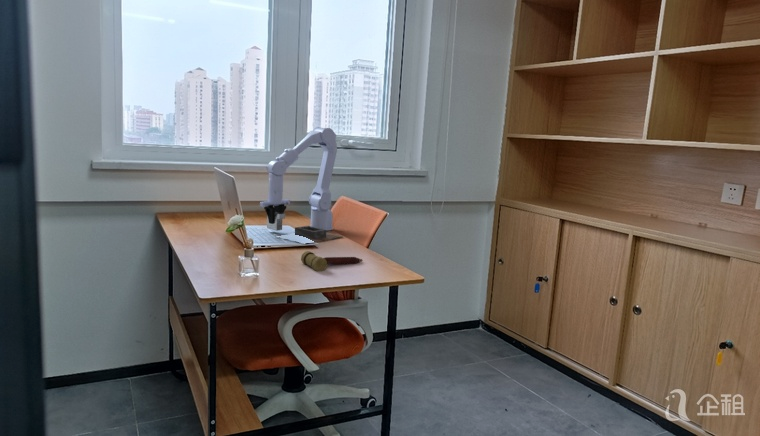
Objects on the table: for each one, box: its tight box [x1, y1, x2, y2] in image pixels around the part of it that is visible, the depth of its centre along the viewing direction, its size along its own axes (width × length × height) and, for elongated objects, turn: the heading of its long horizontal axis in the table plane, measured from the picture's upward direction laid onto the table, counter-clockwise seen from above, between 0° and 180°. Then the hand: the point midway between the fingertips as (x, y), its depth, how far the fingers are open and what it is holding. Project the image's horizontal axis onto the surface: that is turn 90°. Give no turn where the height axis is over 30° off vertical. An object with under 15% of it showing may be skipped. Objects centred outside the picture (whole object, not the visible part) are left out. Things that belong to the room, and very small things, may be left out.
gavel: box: [300, 250, 363, 272], centre depth 181 cm, size 21×5×10 cm
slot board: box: [294, 225, 344, 243], centre depth 220 cm, size 22×16×4 cm
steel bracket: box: [266, 212, 286, 232], centre depth 223 cm, size 3×8×7 cm, turn 52°
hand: (274, 222), depth 224 cm, fingers closed on steel bracket, 3 cm apart
